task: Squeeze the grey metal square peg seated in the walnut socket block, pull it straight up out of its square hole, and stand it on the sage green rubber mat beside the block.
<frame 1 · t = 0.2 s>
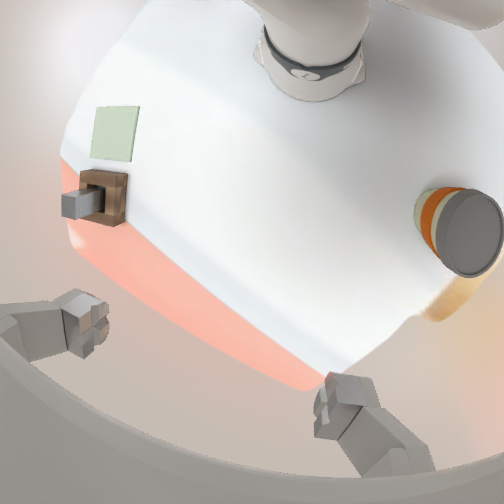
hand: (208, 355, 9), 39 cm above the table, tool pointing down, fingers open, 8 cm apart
socket block: (107, 194, 50), on the table
reusable coffee cup: (433, 213, 41), on the table
mat: (113, 132, 45), on the table
peg: (89, 200, 44), in the socket block
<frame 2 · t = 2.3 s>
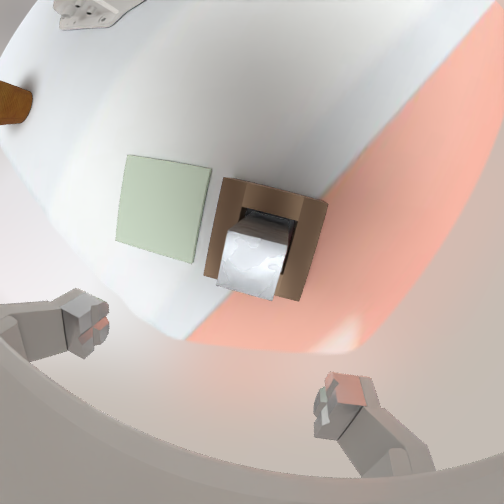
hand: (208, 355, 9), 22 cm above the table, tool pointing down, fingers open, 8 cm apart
socket block: (266, 233, 30), on the table
mat: (159, 206, 31), on the table
disposable coffee cup: (24, 107, 30), on the table
peg: (260, 246, 24), in the socket block
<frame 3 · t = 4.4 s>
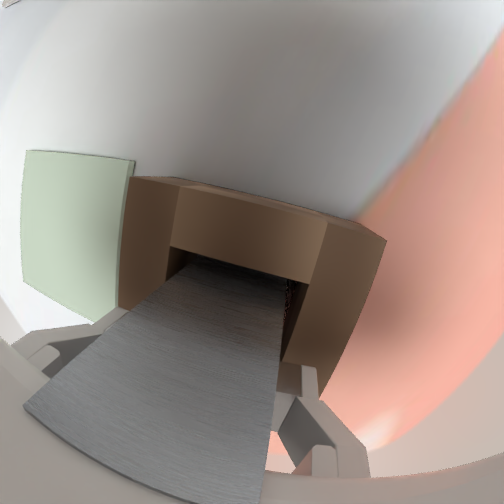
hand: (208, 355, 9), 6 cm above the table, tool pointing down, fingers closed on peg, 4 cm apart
socket block: (241, 290, 14), on the table
mat: (64, 232, 16), on the table
peg: (209, 354, 9), in the socket block, touching gripper
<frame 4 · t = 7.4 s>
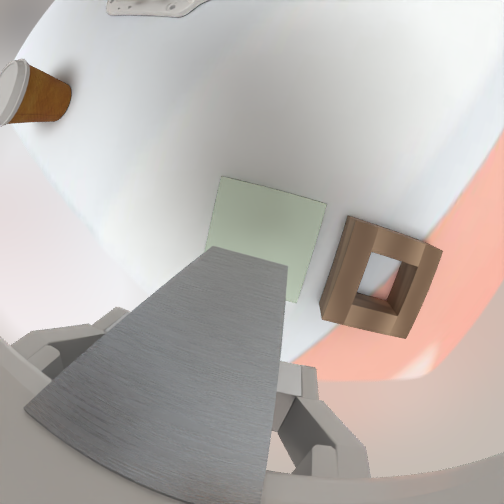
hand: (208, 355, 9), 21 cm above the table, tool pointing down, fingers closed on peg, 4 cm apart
socket block: (375, 273, 27), on the table
mat: (260, 240, 29), on the table
disposable coffee cup: (59, 102, 28), on the table
peg: (209, 355, 9), point 20 cm above the table, touching gripper
when the fingers open (8 cm above the table, at t = 10.8 s): peg stays where it is, resting on mat.
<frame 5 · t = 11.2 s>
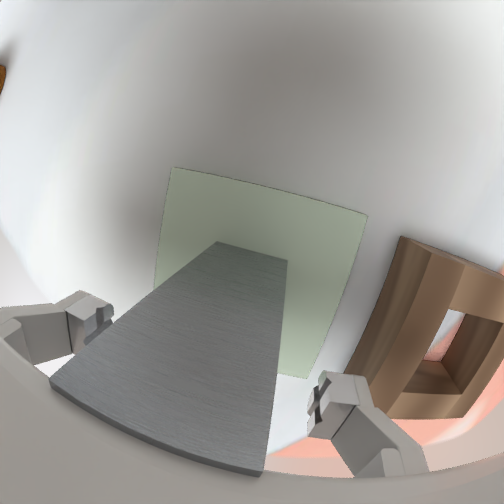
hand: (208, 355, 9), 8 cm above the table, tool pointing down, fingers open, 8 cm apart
socket block: (432, 326, 15), on the table
mat: (246, 281, 16), on the table
peg: (215, 340, 10), on the mat, point 7 cm above the table
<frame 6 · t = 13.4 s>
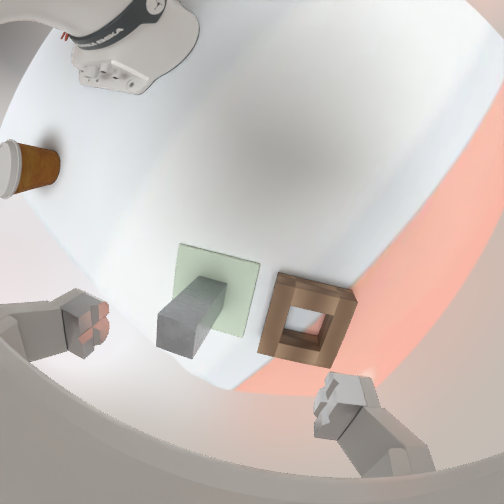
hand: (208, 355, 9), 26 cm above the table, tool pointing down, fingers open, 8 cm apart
socket block: (305, 315, 35), on the table
mat: (212, 291, 37), on the table
disposable coffee cup: (51, 167, 37), on the table
peg: (195, 311, 30), on the mat, point 7 cm above the table
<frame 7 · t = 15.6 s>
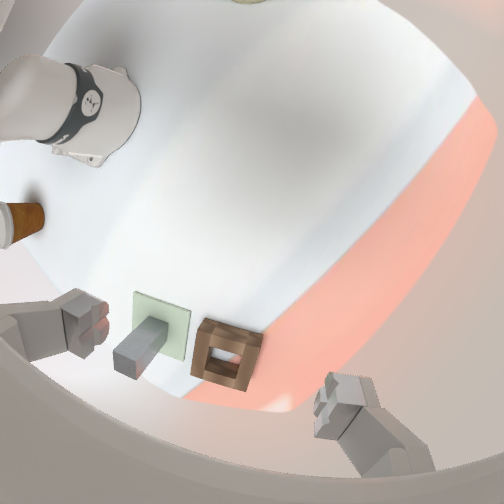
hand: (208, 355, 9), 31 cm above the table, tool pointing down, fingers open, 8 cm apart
socket block: (228, 349, 45), on the table
mat: (159, 326, 46), on the table
disposable coffee cup: (37, 216, 45), on the table
peg: (142, 345, 40), on the mat, point 7 cm above the table
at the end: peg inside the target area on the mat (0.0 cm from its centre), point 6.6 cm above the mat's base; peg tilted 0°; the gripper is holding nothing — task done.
